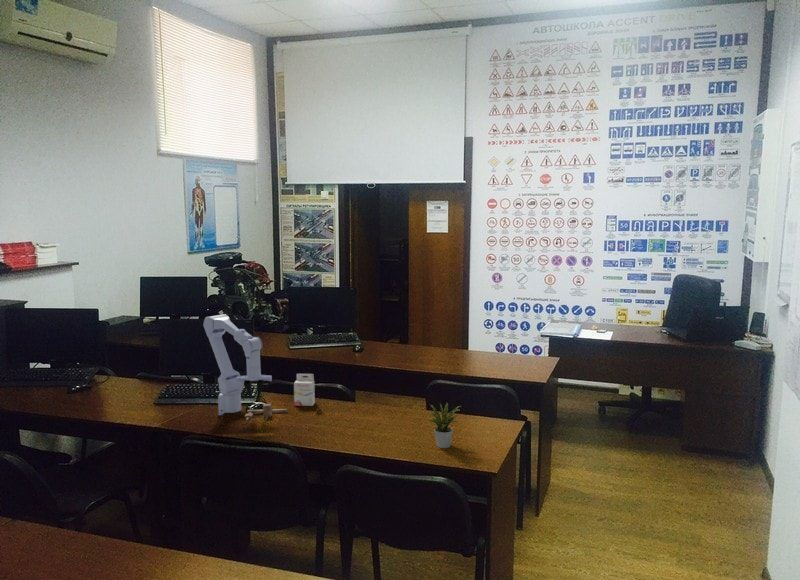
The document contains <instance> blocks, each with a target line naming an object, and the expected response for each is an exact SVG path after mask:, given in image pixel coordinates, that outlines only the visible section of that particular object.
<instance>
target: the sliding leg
mask: <svg viewBox="0 0 800 580" xmlns="http://www.w3.org/2000/svg"><path fill="white" fill-rule="evenodd" d="M272 409H273V408H272V403H264V404H263V405H262V410H263V413H262V414H263V415H262V416H263V418H264V420H268V419H269V418H271V417H272V415H273V413H272Z"/></svg>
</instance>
